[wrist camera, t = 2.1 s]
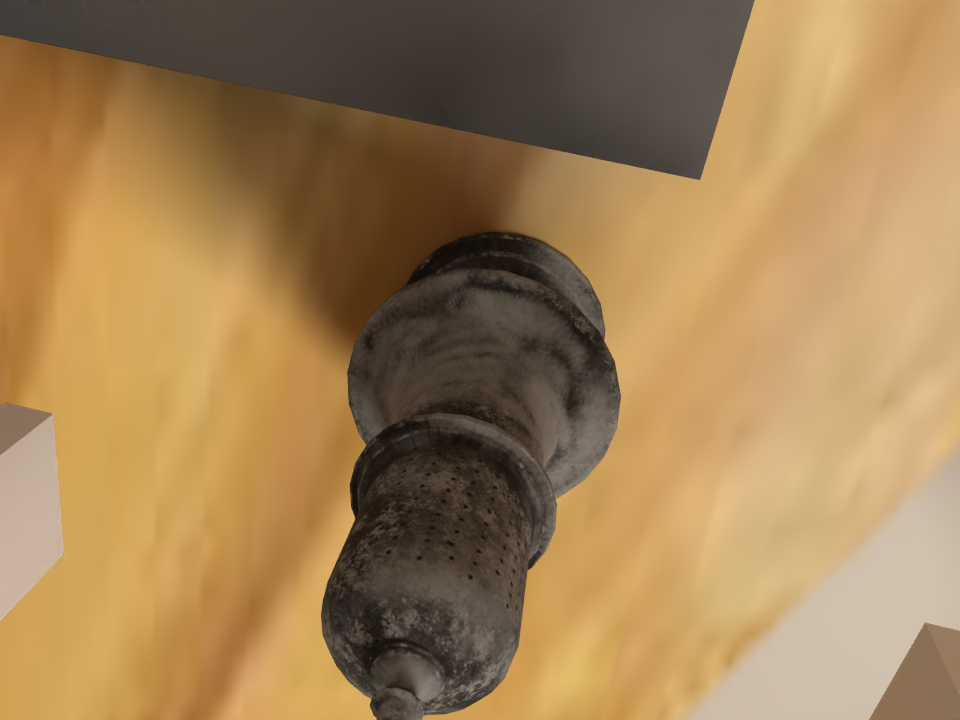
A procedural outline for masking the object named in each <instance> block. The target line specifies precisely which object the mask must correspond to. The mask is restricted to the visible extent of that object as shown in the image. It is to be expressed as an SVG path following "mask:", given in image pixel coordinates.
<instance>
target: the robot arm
mask: <svg viewBox="0 0 960 720" xmlns="http://www.w3.org/2000/svg"><path fill="white" fill-rule="evenodd" d="M63 554H64V550H63V537H62V524H61V510H60V497H59V484H58V470H57V457H56V444H55V431H54V417H53V414H52V413H47V412H43V411H39V410H35V409H31V408H27V407H22V406H18V405H14V404H10V403H4V404H3V405H1V406H0V621H1V620H2V618H3V617H4V616H5V615H6V614H7V613H8V612H9V611H10V610H11V609H12V608H13V607H14V606H15V605H16V604H17V603H18V602H19V601H20V600H21V598H22V597H23V596H24V595H25V594H26V593H27V592H28V591H29V590H30V589H31V588H32V587H33V586H34V585H35V584H36V583H37V582H38V581H39V580H40V578H41V577H42V576H43V575H44V574H45V573H46V572H47V571H48V570H49V569H50V568H51V567H52V566H53V565H54V564H55V563H56V562H57V561H58V560H59V558H60V557H61V556H62V555H63ZM869 720H960V631H958V630H954V629H949V628H945V627H941V626H937V625H933V624H929V623H925V624H924V625H923V628H922V629H921V631H920V632H919V634H918V636H917V638H916V639H915V641H914V643H913V645H912V646H911V648H910V650H909V652H908V653H907V655H906V657H905V659H904V660H903V662H902V664H901V665H900V667H899V669H898V671H897V672H896V674H895V676H894V677H893V679H892V681H891V683H890V685H889V686H888V688H887V690H886V691H885V693H884V695H883V697H882V698H881V700H880V702H879V704H878V705H877V707H876V709H875V710H874V712H873V714H872V716H871V717H870V719H869Z"/></svg>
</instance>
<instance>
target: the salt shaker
mask: <svg viewBox="0 0 960 720" xmlns="http://www.w3.org/2000/svg"><path fill="white" fill-rule="evenodd" d="M604 337H605V326H604V320H603V315H602V310H601V304H600V302H599V300H598V298H597V296H596V294H595V292H594V290H593V288H592V286H591V284H590V282H589V280H588V279H587V277H586V276H585V275H584V274H583V273H582V272H581V271H580V270H579V269H578V267H577V266H576V265H575V264H574V263H573V262H572V261H571V260H570V259H569V258H568V257H566V256H565V255H563V254H561V253H560V252H558V251H557V250H555V249H554V248H552V247H551V246H549V245H548V244H546V243H543V242H540V241H537V240H534V239H531V238H528V237H525V236H522V235H519V234H510V233H495V232H487V233H482V234H477V235H472V236H466V237H461V238H459V239H457V240H455V241H453V242H451V243H449V244H447V245H445V246H443V247H441V248H439V249H437V250H436V251H435V252H434V253H433V254H431V255H430V256H429V257H428V258H427V259H426V260H425V261H424V262H422V263H421V264H420V265H419V266H418V267H417V269H416V270H415V272H414V273H413V275H412V277H411V278H410V280H409V281H408V283H407V285H406V286H405V287H404V288H401V289H399V290H398V291H397V292H396V293H394V294H393V295H392V296H391V297H390V298H389V299H388V300H387V301H385V302H384V303H383V304H382V305H381V306H380V307H379V308H378V309H376V310H375V311H374V312H373V313H372V315H371V317H370V318H369V320H368V322H367V323H366V325H365V327H364V328H363V330H362V331H361V333H360V335H359V336H358V338H357V340H356V341H355V344H354V348H353V352H352V356H351V360H350V364H349V368H348V372H347V374H348V396H349V405H350V408H351V411H352V414H353V417H354V420H355V423H356V426H357V429H358V432H359V434H360V436H361V437H362V439H363V440H364V442H365V443H366V445H367V446H366V447H365V449H364V450H363V452H362V453H361V455H360V456H359V458H358V459H357V461H356V463H355V467H354V471H353V475H352V478H351V482H350V495H351V508H352V510H353V513H354V516H355V521H354V524H353V526H352V528H351V530H350V533H349V535H348V537H347V539H346V542H345V544H344V546H343V549H342V551H341V553H340V555H339V558H338V560H337V562H336V564H335V567H334V569H333V571H332V573H331V576H330V578H329V580H328V583H327V587H326V591H325V595H324V598H323V604H322V612H321V621H322V632H323V637H324V639H325V642H326V644H327V647H328V649H329V651H330V654H331V656H332V658H333V660H334V662H335V664H336V666H337V667H338V668H339V670H340V671H341V672H342V674H343V675H344V676H345V678H346V679H347V680H348V681H349V682H350V683H351V684H352V685H353V686H354V687H356V688H357V689H358V690H359V691H360V692H362V693H363V694H364V695H366V696H367V697H369V698H371V699H372V700H371V703H370V707H371V710H372V712H373V715H374V716H375V717H376V718H377V720H422V717H423V715H439V714H448V713H451V712H455V711H459V710H462V709H465V708H466V707H468V706H470V705H472V704H473V703H475V702H477V701H479V700H480V699H482V698H483V697H485V696H486V695H488V694H490V693H491V692H492V691H493V690H494V689H495V688H496V687H497V686H498V685H499V684H500V683H501V682H502V681H503V679H504V678H505V676H506V674H507V672H508V669H509V667H510V665H511V662H512V660H513V658H514V655H515V653H516V651H517V648H518V646H519V637H520V629H521V621H522V612H523V604H524V595H525V587H526V578H527V570H529V569H531V568H532V567H533V566H534V565H535V563H536V562H537V561H538V560H539V559H540V558H541V556H542V555H543V554H544V553H545V552H546V550H547V548H548V546H549V543H550V541H551V538H552V536H553V534H554V531H555V522H556V508H557V504H556V499H557V498H559V497H560V496H562V495H563V494H565V493H566V492H568V491H569V490H571V489H572V488H574V487H575V486H577V485H578V484H580V483H581V482H583V481H584V480H585V479H586V477H587V476H588V475H589V474H590V473H591V472H592V470H593V469H594V468H595V467H596V466H597V465H598V464H599V462H600V461H601V460H602V459H603V458H604V456H605V454H606V452H607V449H608V447H609V445H610V443H611V440H612V438H613V436H614V434H615V432H616V429H617V423H618V415H619V407H620V399H621V394H620V388H619V383H618V377H617V372H616V366H615V361H614V359H613V357H612V355H611V353H610V351H609V349H608V347H607V345H606V343H605V342H604Z"/></svg>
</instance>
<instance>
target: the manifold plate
mask: <svg viewBox="0 0 960 720" xmlns="http://www.w3.org/2000/svg"><path fill="white" fill-rule="evenodd" d="M753 4H754V0H0V35H5V36H10V37H15V38H19V39H24V40H29V41H34V42H39V43H43V44H48V45H53V46H58V47H63V48H67V49H72V50H77V51H82V52H87V53H92V54H96V55H101V56H106V57H111V58H116V59H120V60H125V61H130V62H135V63H140V64H144V65H149V66H154V67H159V68H164V69H168V70H173V71H178V72H183V73H188V74H193V75H197V76H202V77H207V78H212V79H217V80H221V81H226V82H231V83H236V84H241V85H245V86H250V87H255V88H260V89H265V90H270V91H274V92H279V93H284V94H289V95H294V96H298V97H303V98H308V99H313V100H318V101H322V102H327V103H332V104H337V105H342V106H347V107H351V108H356V109H361V110H366V111H371V112H375V113H380V114H385V115H390V116H395V117H399V118H404V119H409V120H414V121H419V122H424V123H428V124H433V125H438V126H443V127H448V128H452V129H457V130H462V131H467V132H472V133H476V134H481V135H486V136H491V137H496V138H501V139H505V140H510V141H515V142H520V143H525V144H529V145H534V146H539V147H544V148H549V149H553V150H558V151H563V152H568V153H573V154H577V155H582V156H587V157H592V158H597V159H602V160H606V161H611V162H616V163H621V164H626V165H630V166H635V167H640V168H645V169H650V170H654V171H659V172H664V173H669V174H674V175H679V176H683V177H688V178H693V179H698V180H700V178H701V175H702V172H703V169H704V165H705V162H706V159H707V155H708V152H709V149H710V145H711V142H712V139H713V136H714V132H715V129H716V126H717V122H718V119H719V116H720V113H721V109H722V106H723V103H724V99H725V96H726V93H727V89H728V86H729V83H730V80H731V76H732V73H733V70H734V66H735V63H736V60H737V56H738V53H739V50H740V47H741V43H742V40H743V37H744V33H745V30H746V27H747V24H748V20H749V17H750V14H751V10H752V7H753Z"/></svg>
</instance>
